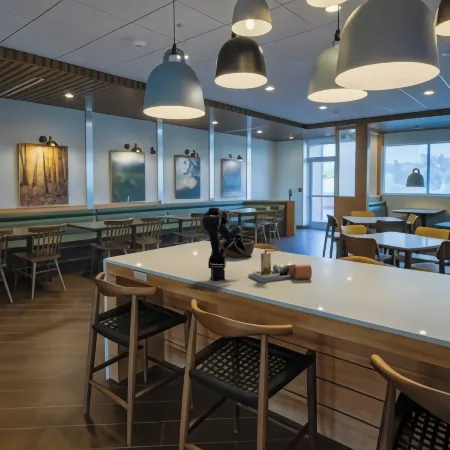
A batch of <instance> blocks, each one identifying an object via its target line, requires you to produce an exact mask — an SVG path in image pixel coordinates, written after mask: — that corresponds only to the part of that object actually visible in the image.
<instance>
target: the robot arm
mask: <svg viewBox="0 0 450 450" xmlns="http://www.w3.org/2000/svg"><path fill="white" fill-rule="evenodd" d="M228 223H229V213H228V212H227V209H226V210H225V209H224V210H223V209H220V208H219V207H209V208H208V210H207V211H206V212H205V213H204V214H203V217H202V226H203V229H204V231H205V232H207V234H208V236H209V242H210V248H211V251H210V255H209V258H208V263H207V264H208V266H207V268H208V269H210V277H209V279H210V280H212V281H214V282H217V281H225V280H226V274H225V273H226V271H225V268H226V267H227V257H226V256H225V253H224V249H227V250H230V251H232V252H235V253H237V254H239V255H241V252H240V250H239V249H238V247H239V248H240V249H242V250H244V251H246V248H245V246H244V244H243V242H242V239H244V238H243V235H242V233H243V232H244V231H243V227H242V226H240V225H237V226H235V228H234V229H232V228H229V225H228ZM219 237H220V238H219ZM220 239H222V240H225V241H226V242H225V243H224V244H223V248H224V249H221V248H220V242H219V241H220ZM227 247H228V248H227Z"/></svg>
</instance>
